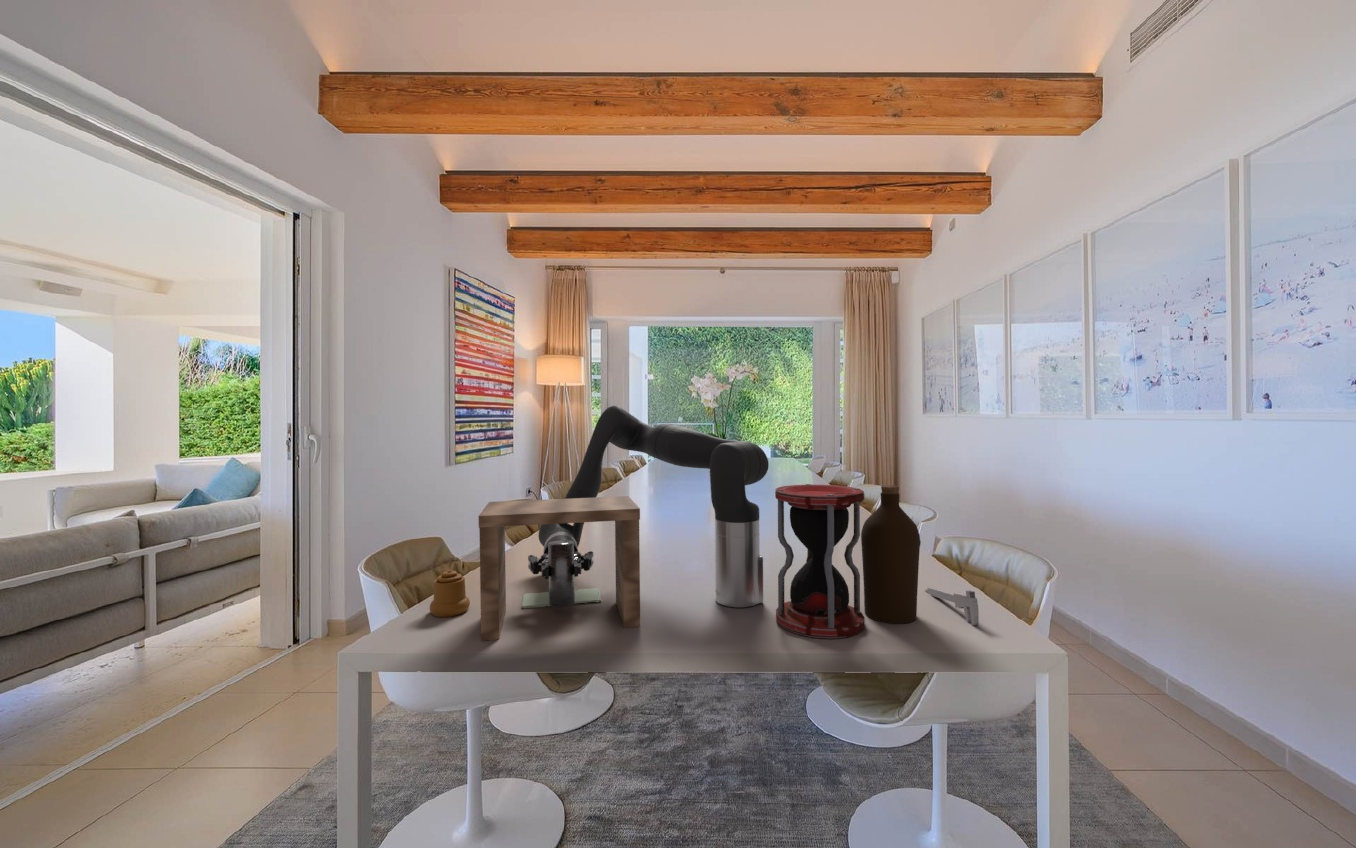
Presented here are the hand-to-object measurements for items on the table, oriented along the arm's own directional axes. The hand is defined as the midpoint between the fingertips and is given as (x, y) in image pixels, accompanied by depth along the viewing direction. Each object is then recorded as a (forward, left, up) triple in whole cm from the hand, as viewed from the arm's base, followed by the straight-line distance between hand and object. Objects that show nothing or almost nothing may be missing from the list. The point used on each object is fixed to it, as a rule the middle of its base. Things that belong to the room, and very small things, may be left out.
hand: (561, 572), depth 108 cm
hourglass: (-47, +15, -9) cm, 50 cm away
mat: (0, -10, -9) cm, 13 cm away
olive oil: (-62, +15, -9) cm, 64 cm away
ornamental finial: (+22, -8, -9) cm, 25 cm away
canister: (0, -3, -7) cm, 7 cm away
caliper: (-76, +13, -9) cm, 78 cm away
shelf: (0, +2, -9) cm, 9 cm away
